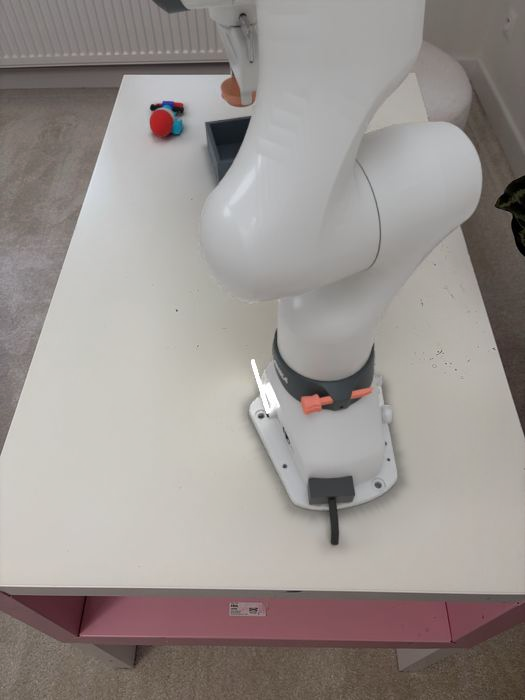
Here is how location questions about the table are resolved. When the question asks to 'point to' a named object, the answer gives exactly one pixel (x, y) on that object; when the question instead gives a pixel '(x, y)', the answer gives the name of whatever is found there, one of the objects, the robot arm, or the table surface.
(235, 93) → the orange hockey puck
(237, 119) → the tub
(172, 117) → the toy figure
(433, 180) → the robot arm
